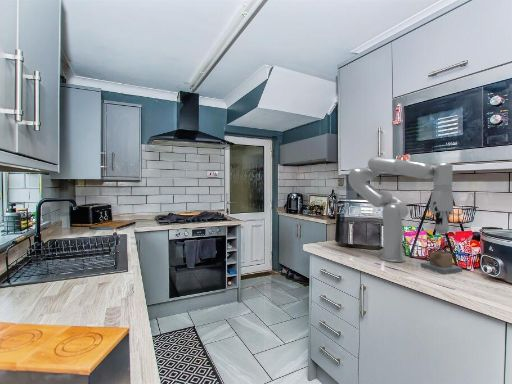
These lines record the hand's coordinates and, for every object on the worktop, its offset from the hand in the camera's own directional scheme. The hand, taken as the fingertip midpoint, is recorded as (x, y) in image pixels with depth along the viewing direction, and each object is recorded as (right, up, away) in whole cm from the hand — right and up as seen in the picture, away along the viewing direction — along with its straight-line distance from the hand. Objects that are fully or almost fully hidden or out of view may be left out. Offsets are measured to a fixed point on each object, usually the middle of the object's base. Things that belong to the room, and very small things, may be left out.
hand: (441, 225), depth 131 cm
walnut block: (0, -20, +1) cm, 20 cm away
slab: (0, -22, +1) cm, 22 cm away
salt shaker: (0, -4, 0) cm, 4 cm away
